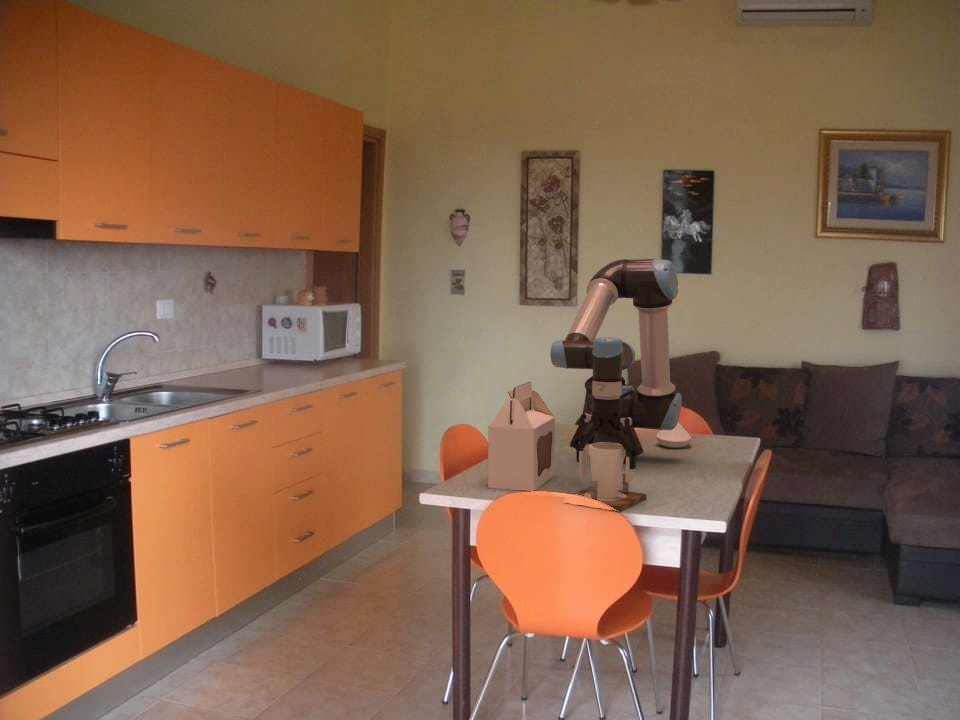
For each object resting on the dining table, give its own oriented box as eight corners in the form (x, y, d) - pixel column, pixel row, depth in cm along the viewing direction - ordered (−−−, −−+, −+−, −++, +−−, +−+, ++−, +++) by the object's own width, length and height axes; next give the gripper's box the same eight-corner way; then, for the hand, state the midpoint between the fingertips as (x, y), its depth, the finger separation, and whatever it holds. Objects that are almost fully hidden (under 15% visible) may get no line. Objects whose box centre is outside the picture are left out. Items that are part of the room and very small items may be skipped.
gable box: (511, 472, 282) (512, 379, 279) (554, 475, 277) (555, 381, 274) (487, 488, 261) (487, 388, 258) (533, 492, 256) (534, 390, 254)
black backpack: (575, 436, 341) (576, 367, 339) (629, 436, 341) (630, 368, 338) (578, 444, 325) (579, 372, 323) (635, 445, 324) (636, 373, 322)
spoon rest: (691, 451, 316) (692, 430, 315) (656, 450, 317) (656, 429, 317) (688, 438, 339) (688, 419, 338) (655, 437, 341) (655, 418, 340)
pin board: (592, 491, 257) (592, 467, 257) (646, 499, 248) (646, 475, 248) (563, 503, 244) (563, 478, 244) (619, 512, 235) (619, 486, 235)
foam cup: (620, 490, 251) (622, 442, 249) (627, 500, 242) (629, 450, 240) (584, 489, 251) (586, 441, 249) (590, 499, 241) (592, 450, 240)
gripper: (557, 394, 248) (556, 474, 250) (645, 402, 234) (643, 487, 236) (571, 391, 254) (570, 469, 256) (657, 399, 240) (655, 481, 242)
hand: (605, 478), depth 246 cm, fingers open, 13 cm apart
